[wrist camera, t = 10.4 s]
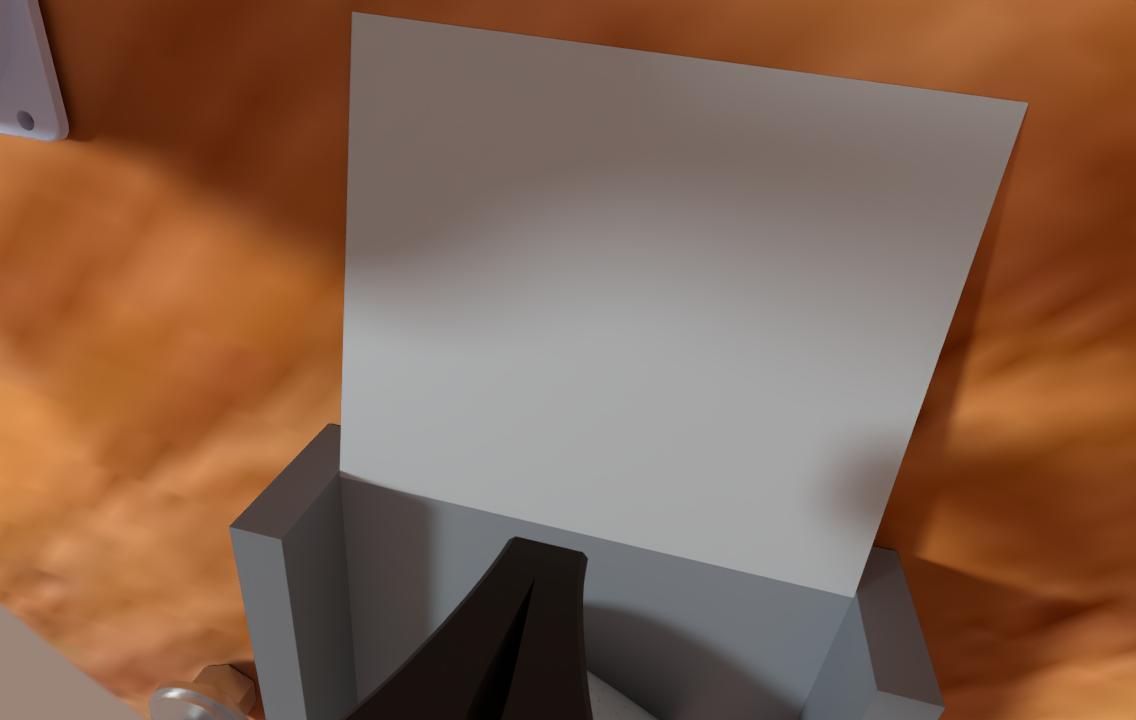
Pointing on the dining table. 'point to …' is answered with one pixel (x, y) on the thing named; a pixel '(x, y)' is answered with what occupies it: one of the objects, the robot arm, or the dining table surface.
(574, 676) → the robot arm
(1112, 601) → the dining table surface
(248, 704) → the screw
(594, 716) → the ceramic mug
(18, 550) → the dining table surface
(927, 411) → the dining table surface
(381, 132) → the dock
